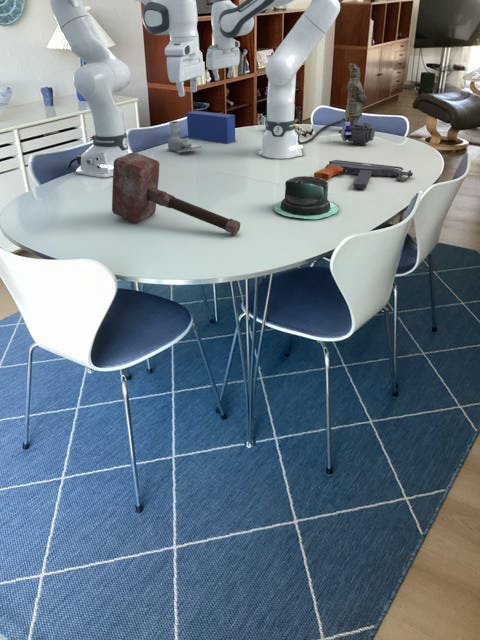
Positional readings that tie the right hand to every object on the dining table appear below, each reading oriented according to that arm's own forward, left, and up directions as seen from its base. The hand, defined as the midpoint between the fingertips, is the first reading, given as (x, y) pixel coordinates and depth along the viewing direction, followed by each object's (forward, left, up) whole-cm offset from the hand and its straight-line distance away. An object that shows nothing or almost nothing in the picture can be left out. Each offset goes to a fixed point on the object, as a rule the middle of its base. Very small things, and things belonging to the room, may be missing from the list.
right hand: (223, 79), depth 243 cm
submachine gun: (+52, +64, -27) cm, 86 cm away
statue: (-30, +57, -27) cm, 69 cm away
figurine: (-20, +26, -27) cm, 42 cm away
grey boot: (+22, -14, -27) cm, 37 cm away
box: (-3, -8, -27) cm, 28 cm away
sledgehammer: (+107, +13, -27) cm, 111 cm away
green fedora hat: (+87, +48, -27) cm, 102 cm away
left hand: (+70, +6, +4) cm, 70 cm away
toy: (-3, +59, -27) cm, 65 cm away
